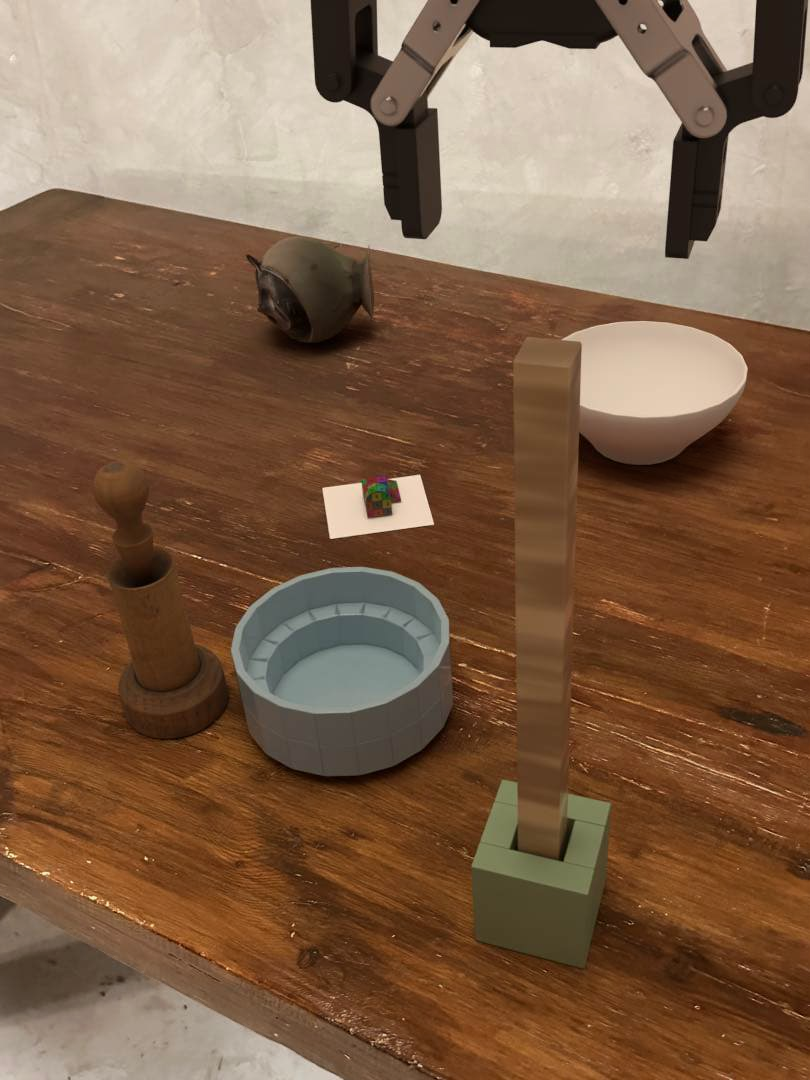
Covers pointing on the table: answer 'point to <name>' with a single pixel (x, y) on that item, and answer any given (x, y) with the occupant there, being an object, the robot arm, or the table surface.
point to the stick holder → (540, 882)
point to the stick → (545, 583)
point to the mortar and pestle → (155, 621)
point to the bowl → (654, 388)
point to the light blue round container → (344, 670)
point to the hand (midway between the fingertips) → (548, 239)
